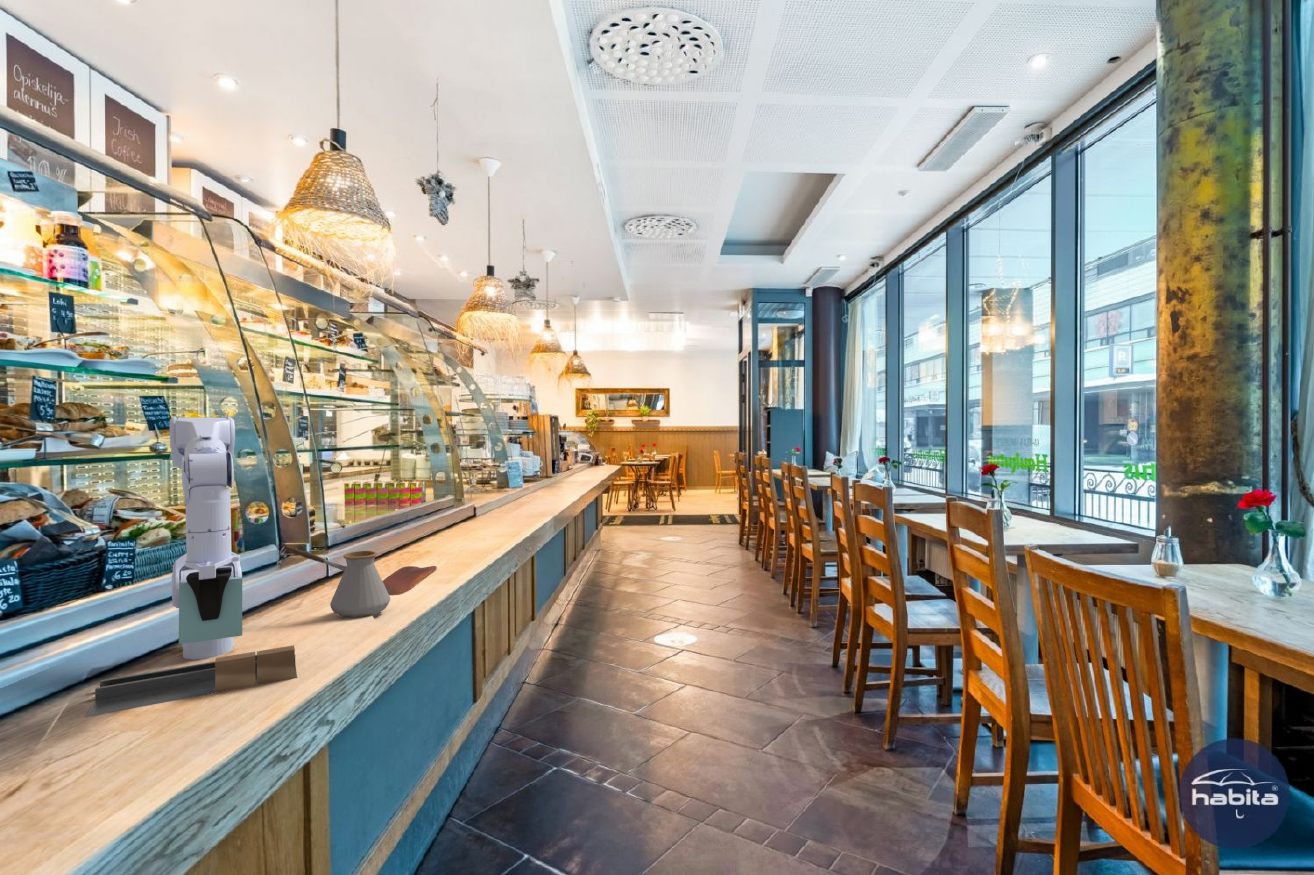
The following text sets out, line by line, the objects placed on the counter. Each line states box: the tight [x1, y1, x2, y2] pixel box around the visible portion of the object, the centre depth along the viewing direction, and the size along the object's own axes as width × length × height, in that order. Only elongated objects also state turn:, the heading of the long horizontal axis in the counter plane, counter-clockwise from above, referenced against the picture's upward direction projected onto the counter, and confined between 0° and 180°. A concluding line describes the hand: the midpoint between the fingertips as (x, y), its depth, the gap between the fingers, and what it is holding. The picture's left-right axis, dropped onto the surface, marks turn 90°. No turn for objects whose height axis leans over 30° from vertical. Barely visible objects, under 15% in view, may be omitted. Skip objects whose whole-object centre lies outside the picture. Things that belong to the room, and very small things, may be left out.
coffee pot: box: [279, 545, 391, 620], centre depth 133 cm, size 21×12×15 cm, turn 97°
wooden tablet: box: [382, 565, 438, 596], centre depth 161 cm, size 27×10×2 cm, turn 1°
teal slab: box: [178, 576, 243, 645], centre depth 99 cm, size 2×8×9 cm, turn 123°
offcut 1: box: [214, 651, 257, 693], centre depth 96 cm, size 2×5×4 cm, turn 122°
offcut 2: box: [256, 644, 296, 686], centre depth 99 cm, size 2×5×4 cm, turn 122°
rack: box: [85, 654, 298, 718], centre depth 97 cm, size 11×25×2 cm, turn 122°
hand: (210, 618), depth 99 cm, fingers closed on teal slab, 1 cm apart
